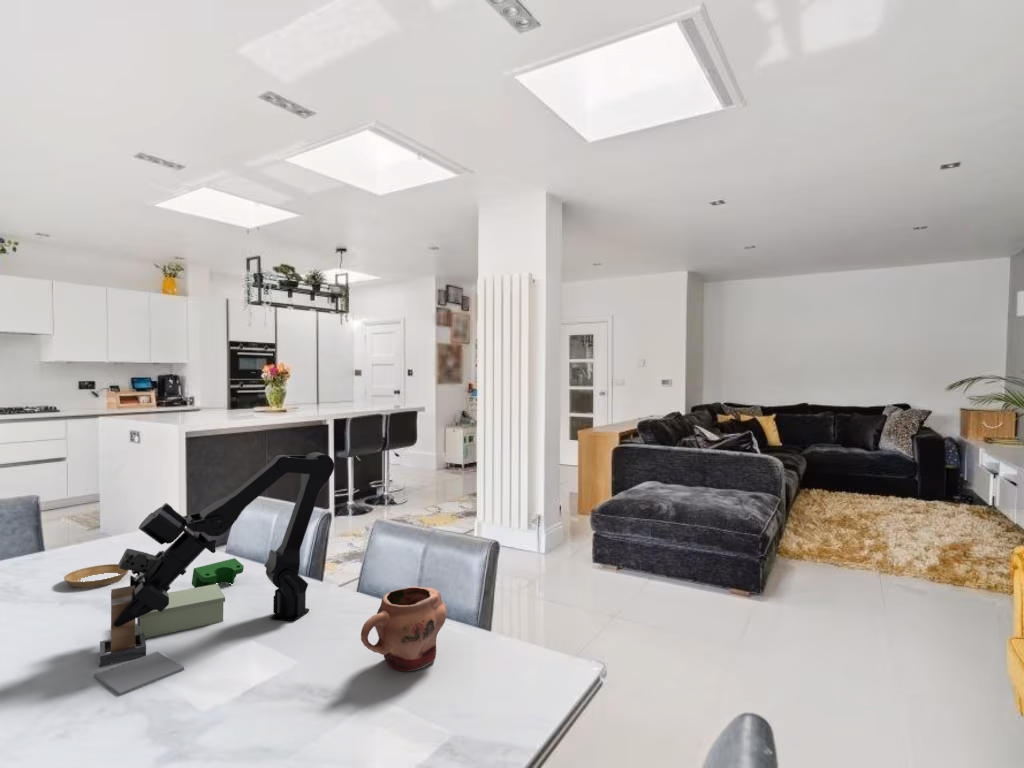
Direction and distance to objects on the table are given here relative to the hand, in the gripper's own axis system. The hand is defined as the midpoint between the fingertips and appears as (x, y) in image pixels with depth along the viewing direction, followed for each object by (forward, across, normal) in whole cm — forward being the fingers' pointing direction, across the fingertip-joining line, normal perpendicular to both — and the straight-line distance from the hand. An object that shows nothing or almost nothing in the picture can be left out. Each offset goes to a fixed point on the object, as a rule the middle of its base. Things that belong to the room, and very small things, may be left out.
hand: (114, 620), depth 114 cm
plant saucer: (+8, -54, +3) cm, 54 cm away
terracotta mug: (-28, +37, +38) cm, 60 cm away
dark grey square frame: (+4, 0, +6) cm, 7 cm away
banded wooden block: (+4, 0, +6) cm, 7 cm away
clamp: (-11, -31, +22) cm, 40 cm away
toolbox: (-4, -11, +14) cm, 18 cm away
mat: (+2, +11, +8) cm, 14 cm away
